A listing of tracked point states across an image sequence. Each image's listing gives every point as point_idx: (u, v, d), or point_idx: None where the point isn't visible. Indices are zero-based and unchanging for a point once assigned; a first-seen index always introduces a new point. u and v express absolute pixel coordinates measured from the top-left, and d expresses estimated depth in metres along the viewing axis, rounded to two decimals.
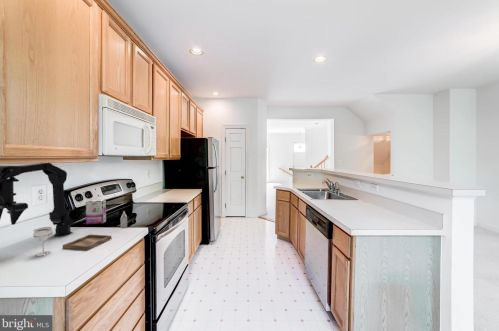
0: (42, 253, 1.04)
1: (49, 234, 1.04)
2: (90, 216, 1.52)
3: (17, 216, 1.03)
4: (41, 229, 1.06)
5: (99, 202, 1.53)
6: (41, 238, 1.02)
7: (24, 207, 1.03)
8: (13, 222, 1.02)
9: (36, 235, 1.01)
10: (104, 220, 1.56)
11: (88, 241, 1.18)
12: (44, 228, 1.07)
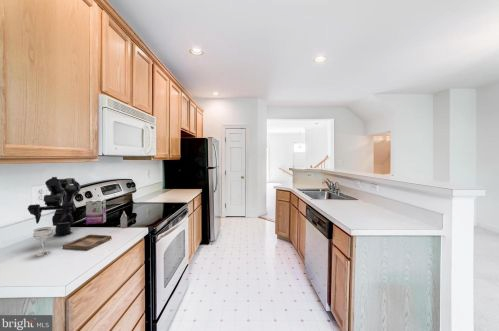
0: (42, 253, 1.04)
1: (49, 234, 1.04)
2: (90, 216, 1.52)
3: (65, 215, 1.17)
4: (41, 229, 1.06)
5: (99, 202, 1.53)
6: (41, 238, 1.02)
7: (74, 208, 1.21)
8: (61, 218, 1.14)
9: (36, 235, 1.01)
10: (104, 220, 1.56)
11: (88, 241, 1.18)
12: (44, 228, 1.07)
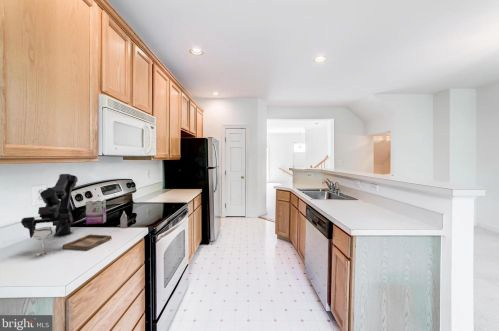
0: (42, 253, 1.04)
1: (49, 234, 1.04)
2: (90, 216, 1.52)
3: (61, 228, 1.10)
4: (41, 229, 1.06)
5: (99, 202, 1.53)
6: (41, 238, 1.02)
7: (71, 220, 1.15)
8: (57, 232, 1.08)
9: (36, 235, 1.01)
10: (104, 220, 1.56)
11: (88, 241, 1.18)
12: (44, 228, 1.07)
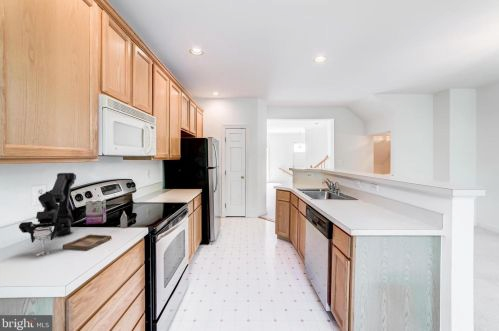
0: (42, 253, 1.04)
1: (49, 234, 1.04)
2: (90, 216, 1.52)
3: (56, 233, 1.08)
4: (41, 229, 1.06)
5: (99, 202, 1.53)
6: (41, 238, 1.02)
7: (70, 224, 1.13)
8: (52, 237, 1.05)
9: (36, 235, 1.01)
10: (104, 220, 1.56)
11: (88, 241, 1.18)
12: (44, 228, 1.07)
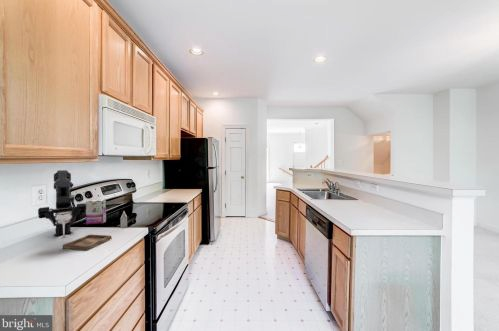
0: (64, 236, 1.08)
1: (70, 218, 1.09)
2: (90, 216, 1.52)
3: (75, 217, 1.13)
4: (59, 214, 1.10)
5: (99, 202, 1.53)
6: (64, 221, 1.07)
7: (85, 209, 1.19)
8: (73, 220, 1.11)
9: (60, 218, 1.05)
10: (104, 220, 1.56)
11: (88, 241, 1.18)
12: (62, 213, 1.11)
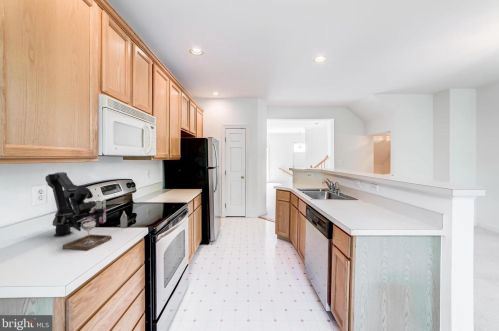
0: (90, 241, 1.17)
1: (95, 224, 1.19)
2: (90, 216, 1.52)
3: None
4: (82, 222, 1.17)
5: (99, 202, 1.53)
6: (91, 228, 1.16)
7: None
8: None
9: (88, 225, 1.14)
10: (104, 220, 1.56)
11: None
12: (84, 220, 1.18)
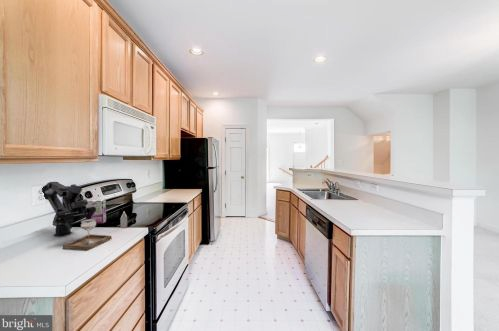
0: (90, 241, 1.17)
1: (95, 224, 1.19)
2: None
3: None
4: (83, 221, 1.17)
5: (99, 202, 1.53)
6: (91, 228, 1.16)
7: None
8: None
9: (88, 225, 1.14)
10: (104, 220, 1.56)
11: None
12: (85, 220, 1.18)
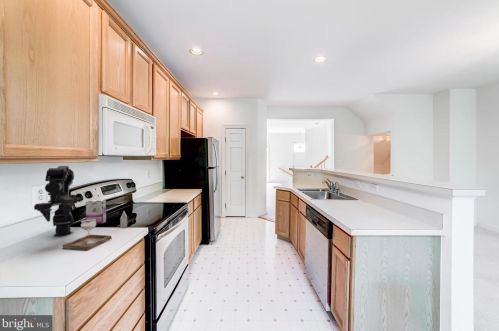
0: (90, 241, 1.17)
1: None
2: (90, 216, 1.52)
3: None
4: (83, 221, 1.17)
5: (99, 202, 1.53)
6: (91, 228, 1.16)
7: None
8: None
9: (88, 225, 1.15)
10: (104, 220, 1.56)
11: None
12: (85, 220, 1.18)
